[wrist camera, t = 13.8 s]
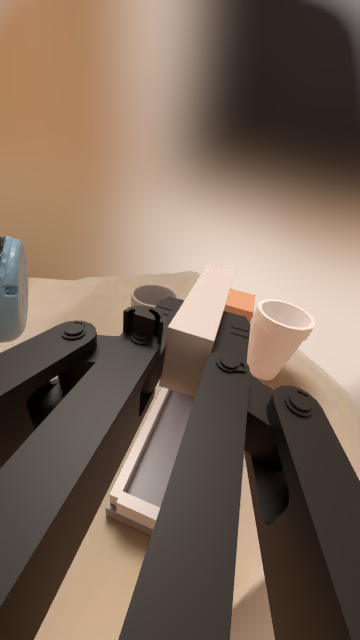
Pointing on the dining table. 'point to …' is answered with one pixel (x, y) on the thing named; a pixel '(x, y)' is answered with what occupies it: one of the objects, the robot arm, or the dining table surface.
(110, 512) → the shallow rimmed tray
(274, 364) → the foam cup
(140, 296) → the mug
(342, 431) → the dining table surface
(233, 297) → the large orange block
